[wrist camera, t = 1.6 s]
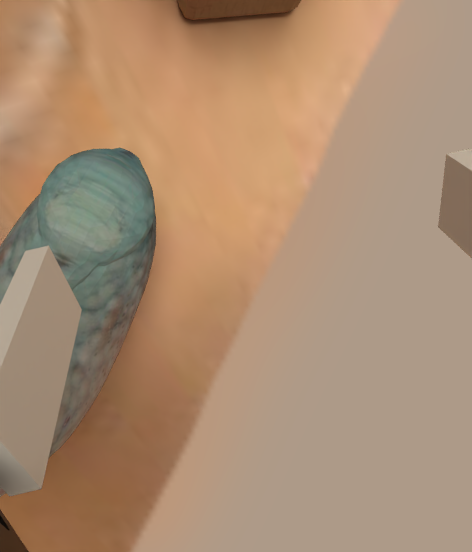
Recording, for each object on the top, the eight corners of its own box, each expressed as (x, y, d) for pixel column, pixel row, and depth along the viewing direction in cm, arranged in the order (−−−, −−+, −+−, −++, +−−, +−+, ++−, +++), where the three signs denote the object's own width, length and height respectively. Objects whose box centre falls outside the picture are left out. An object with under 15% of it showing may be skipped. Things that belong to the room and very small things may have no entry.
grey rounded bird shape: (81, 158, 34) (-1, 27, 15) (185, 214, 36) (235, 165, 16) (-49, 399, 33) (-329, 608, 13) (65, 445, 35) (-36, 686, 15)
